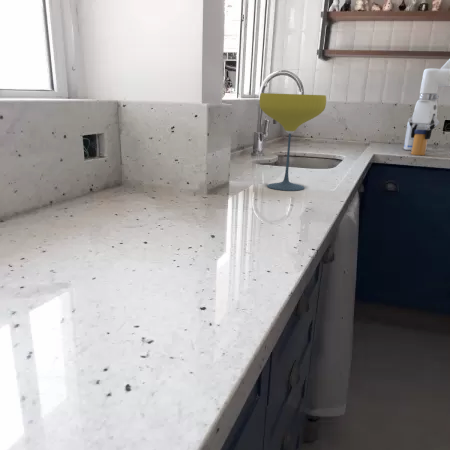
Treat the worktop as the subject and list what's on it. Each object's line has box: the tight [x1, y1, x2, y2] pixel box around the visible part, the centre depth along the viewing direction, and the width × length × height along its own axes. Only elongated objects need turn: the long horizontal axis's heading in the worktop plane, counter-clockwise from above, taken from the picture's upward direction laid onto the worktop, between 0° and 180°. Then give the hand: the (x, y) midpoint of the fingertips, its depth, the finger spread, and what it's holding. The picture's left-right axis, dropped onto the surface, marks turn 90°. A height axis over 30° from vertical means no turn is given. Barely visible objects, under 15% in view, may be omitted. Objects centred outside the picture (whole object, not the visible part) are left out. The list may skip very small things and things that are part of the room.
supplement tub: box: [403, 121, 427, 151], centre depth 250 cm, size 10×10×15 cm
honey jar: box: [410, 134, 429, 156], centre depth 232 cm, size 6×6×11 cm
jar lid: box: [414, 128, 428, 134], centre depth 230 cm, size 7×7×2 cm
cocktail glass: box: [258, 92, 327, 192], centre depth 136 cm, size 18×18×25 cm
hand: (420, 138), depth 231 cm, fingers closed on jar lid, 6 cm apart
